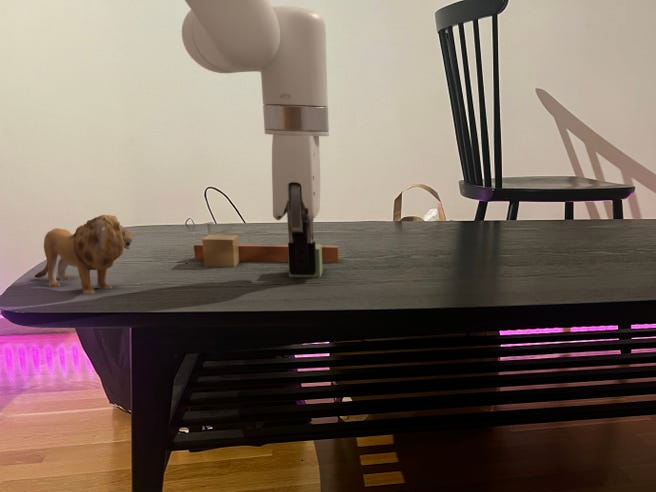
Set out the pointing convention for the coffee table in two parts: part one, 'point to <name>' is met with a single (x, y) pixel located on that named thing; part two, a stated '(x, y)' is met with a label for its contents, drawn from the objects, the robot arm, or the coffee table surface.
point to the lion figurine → (86, 250)
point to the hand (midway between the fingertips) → (303, 273)
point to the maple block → (221, 250)
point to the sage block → (318, 263)
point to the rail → (269, 253)
